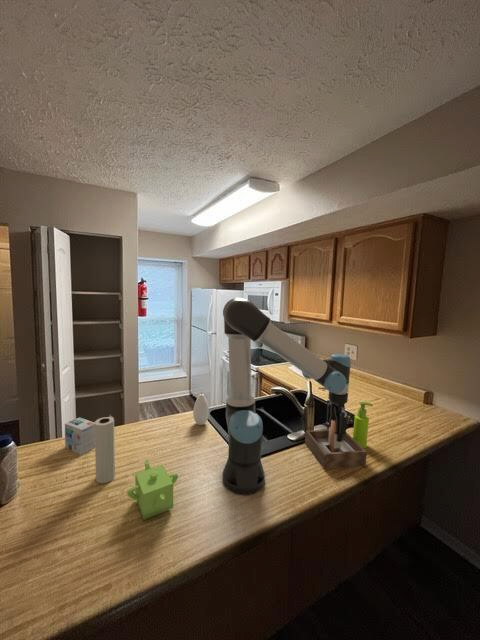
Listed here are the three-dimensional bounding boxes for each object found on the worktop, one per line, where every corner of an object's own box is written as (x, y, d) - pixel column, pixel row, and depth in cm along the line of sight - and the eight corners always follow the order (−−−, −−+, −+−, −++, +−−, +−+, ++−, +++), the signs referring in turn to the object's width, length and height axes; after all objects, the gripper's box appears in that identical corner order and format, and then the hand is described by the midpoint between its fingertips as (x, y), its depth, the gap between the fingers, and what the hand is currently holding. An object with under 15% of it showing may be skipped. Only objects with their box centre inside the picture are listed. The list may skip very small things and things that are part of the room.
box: (323, 469, 105) (324, 454, 105) (304, 443, 123) (305, 430, 122) (365, 465, 108) (367, 451, 108) (341, 440, 126) (342, 428, 125)
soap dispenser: (370, 449, 120) (374, 406, 118) (353, 447, 121) (357, 404, 119) (366, 442, 126) (370, 401, 123) (351, 440, 127) (354, 399, 125)
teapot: (145, 485, 93) (145, 456, 92) (182, 490, 91) (183, 461, 90) (119, 522, 78) (119, 488, 77) (163, 530, 76) (164, 495, 75)
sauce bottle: (210, 421, 140) (211, 387, 138) (206, 428, 132) (207, 393, 130) (196, 419, 141) (196, 386, 139) (190, 426, 133) (191, 391, 131)
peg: (331, 456, 113) (334, 424, 112) (327, 450, 117) (329, 419, 116) (340, 455, 114) (343, 423, 113) (335, 449, 118) (338, 419, 116)
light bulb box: (64, 448, 112) (63, 423, 111) (80, 440, 118) (79, 416, 117) (81, 455, 108) (80, 429, 107) (96, 447, 114) (96, 422, 113)
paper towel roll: (102, 486, 92) (101, 426, 89) (92, 479, 95) (90, 421, 92) (121, 474, 98) (120, 417, 96) (110, 468, 101) (109, 413, 99)
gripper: (359, 399, 105) (354, 456, 108) (336, 384, 122) (332, 433, 124) (341, 400, 104) (336, 457, 106) (320, 384, 120) (317, 434, 123)
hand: (334, 444), depth 115 cm, fingers closed on peg, 4 cm apart
